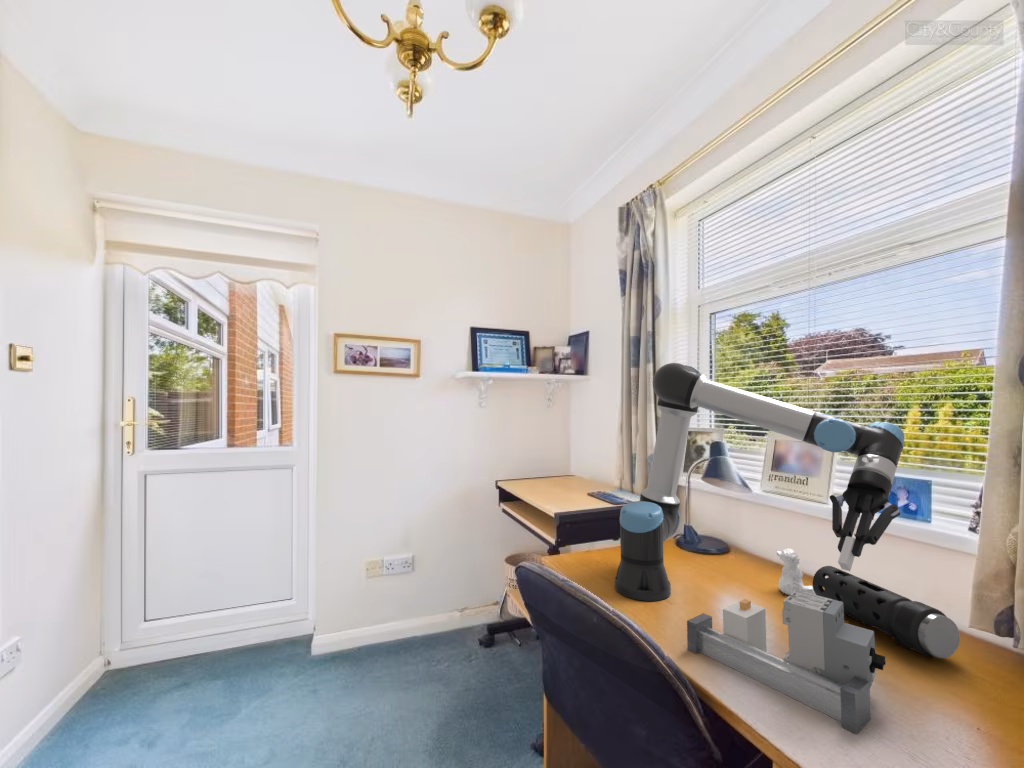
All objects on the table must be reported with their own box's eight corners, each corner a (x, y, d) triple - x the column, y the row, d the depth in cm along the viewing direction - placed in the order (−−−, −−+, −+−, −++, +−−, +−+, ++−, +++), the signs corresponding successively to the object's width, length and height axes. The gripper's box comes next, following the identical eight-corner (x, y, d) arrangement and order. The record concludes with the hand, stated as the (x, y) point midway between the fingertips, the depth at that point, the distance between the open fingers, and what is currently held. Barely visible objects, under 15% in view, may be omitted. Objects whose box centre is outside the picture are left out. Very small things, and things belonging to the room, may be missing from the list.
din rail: (687, 649, 96) (686, 620, 96) (704, 641, 99) (703, 613, 99) (856, 734, 71) (855, 694, 71) (870, 719, 74) (869, 681, 75)
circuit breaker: (882, 721, 74) (878, 627, 75) (784, 682, 84) (781, 600, 85) (889, 700, 79) (885, 612, 80) (795, 666, 89) (793, 589, 90)
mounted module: (723, 652, 94) (722, 602, 95) (743, 642, 99) (741, 593, 99) (747, 664, 90) (746, 610, 91) (766, 652, 95) (765, 601, 95)
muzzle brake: (845, 604, 118) (843, 563, 118) (965, 665, 90) (962, 611, 91) (811, 606, 117) (810, 565, 117) (923, 668, 89) (920, 614, 89)
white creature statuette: (821, 596, 122) (819, 551, 123) (801, 602, 118) (800, 556, 119) (787, 584, 131) (785, 542, 131) (767, 589, 127) (766, 546, 128)
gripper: (833, 465, 109) (803, 547, 99) (902, 471, 98) (877, 565, 88) (843, 484, 112) (815, 567, 102) (911, 493, 101) (887, 586, 91)
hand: (844, 566), depth 95 cm, fingers closed
